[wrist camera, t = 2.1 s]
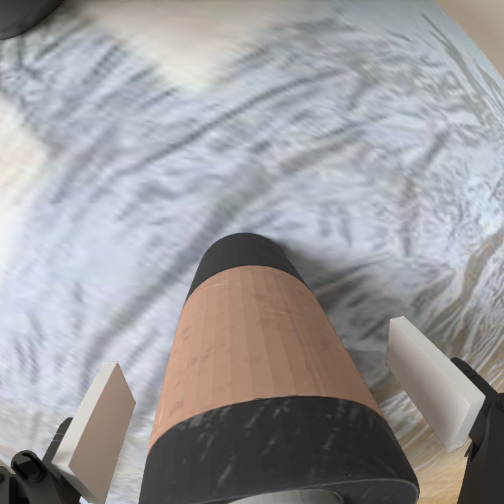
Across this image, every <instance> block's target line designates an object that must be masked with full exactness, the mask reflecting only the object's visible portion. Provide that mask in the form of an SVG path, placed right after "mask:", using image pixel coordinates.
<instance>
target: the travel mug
mask: <svg viewBox="0 0 504 504" xmlns="http://www.w3.org/2000/svg"><path fill="white" fill-rule="evenodd" d="M419 494H420V488H419V484H418V480H417V478H416V475H415V473H414V471H413V469H412V467H411V465H410V464H409V462H408V460H407V458H406V456H405V454H404V452H403V450H402V449H401V447H400V445H399V443H398V441H397V439H396V437H395V436H394V434H393V432H392V430H391V428H390V427H389V425H388V423H387V421H386V419H385V417H384V416H383V414H382V412H381V410H380V408H379V407H378V405H377V403H376V401H375V399H374V398H373V396H372V394H371V392H370V391H369V389H368V387H367V385H366V383H365V382H364V380H363V378H362V376H361V375H360V373H359V371H358V369H357V368H356V366H355V364H354V362H353V361H352V359H351V357H350V356H349V354H348V352H347V350H346V349H345V347H344V345H343V343H342V342H341V340H340V338H339V337H338V335H337V333H336V332H335V330H334V328H333V326H332V325H331V323H330V321H329V320H328V318H327V316H326V315H325V313H324V311H323V310H322V308H321V306H320V305H319V303H318V301H317V300H316V298H315V296H314V295H313V294H312V292H311V291H310V289H309V288H308V286H307V285H306V284H305V282H304V281H303V280H302V278H301V277H300V275H299V274H298V273H297V271H296V270H295V269H294V267H293V266H292V265H291V263H290V262H289V261H288V259H287V258H286V256H285V255H284V254H283V253H282V251H281V250H280V249H279V248H278V247H277V246H276V245H275V244H274V243H273V242H271V241H270V240H268V239H266V238H265V237H262V236H260V235H256V234H251V233H236V234H232V235H229V236H226V237H224V238H222V239H220V240H218V241H217V242H215V243H214V244H213V245H212V246H211V247H210V248H209V249H208V250H207V251H206V253H205V254H204V256H203V258H202V260H201V262H200V264H199V267H198V269H197V272H196V274H195V277H194V280H193V282H192V285H191V287H190V290H189V293H188V295H187V298H186V301H185V303H184V306H183V309H182V312H181V315H180V319H179V322H178V326H177V330H176V334H175V338H174V341H173V345H172V349H171V353H170V357H169V361H168V365H167V369H166V373H165V377H164V382H163V386H162V390H161V394H160V399H159V403H158V407H157V412H156V416H155V421H154V426H153V430H152V435H151V440H150V445H149V450H148V456H147V459H146V465H145V470H144V475H143V480H142V486H141V492H140V497H139V503H138V504H416V502H417V500H418V498H419Z"/></svg>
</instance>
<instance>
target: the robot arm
mask: <svg viewBox="0 0 504 504" xmlns="http://www.w3.org/2000/svg"><path fill="white" fill-rule="evenodd" d="M63 1H64V0H0V39H6V38H10V37H13V36H15V35H18V34H20V33H22V32H23V31H25V30H27V29H29V28H30V27H32V26H33V25H35V24H36V23H38V22H39V21H40V20H42V19H43V18H44V17H46V16H47V15H48V14H49V13H50V12H52V11H53V10H54V9H55V8H56V7H57V6H58V5H59V4H61V3H62V2H63ZM386 365H387V367H388V368H389V369H390V371H391V372H392V373H393V375H394V376H395V377H396V379H397V380H398V382H399V383H400V384H401V386H402V387H403V388H404V390H405V391H406V393H407V394H408V395H409V397H410V398H411V399H412V401H413V402H414V404H415V405H416V406H417V408H418V409H419V411H420V412H421V413H422V415H423V416H424V418H425V419H426V421H427V422H428V423H429V425H430V426H431V428H432V429H433V431H434V432H435V433H436V435H437V436H438V438H439V439H440V441H441V442H442V444H443V445H444V447H445V448H446V449H447V451H448V452H451V451H453V450H455V449H457V448H459V447H461V446H463V445H464V443H465V441H466V439H467V437H468V436H469V437H470V438H471V439H472V442H471V444H470V446H469V448H468V450H467V451H466V453H465V456H464V457H467V455H468V453H469V455H468V460H467V465H466V470H465V474H464V479H463V483H462V487H461V491H460V495H459V498H458V502H457V504H504V393H499V394H498V393H497V392H496V391H495V390H494V389H493V388H492V387H491V386H490V385H489V384H488V383H487V382H486V381H485V380H484V379H483V378H482V377H481V376H480V375H478V373H477V372H476V371H475V370H474V369H473V370H472V368H471V367H470V366H469V365H468V364H467V363H466V362H465V361H463V360H461V359H459V358H456V357H454V358H452V359H450V360H449V359H448V358H447V357H446V356H445V355H444V354H443V353H442V352H441V351H440V350H439V349H438V348H437V347H436V346H435V345H434V344H433V343H432V342H431V341H430V340H429V339H427V338H426V337H425V336H424V335H423V334H422V333H421V332H420V331H419V330H418V329H417V328H416V327H415V326H414V325H413V324H412V323H410V322H409V321H408V320H407V319H406V318H405V317H404V316H400V317H397V318H393V319H390V326H389V338H388V349H387V359H386ZM135 404H136V402H135V400H134V398H133V396H132V393H131V391H130V389H129V387H128V385H127V382H126V380H125V378H124V376H123V373H122V371H121V368H120V366H119V364H118V361H110V362H104V363H103V365H102V366H101V368H100V370H99V372H98V373H97V375H96V377H95V379H94V381H93V382H92V384H91V386H90V388H89V390H88V391H87V393H86V395H85V397H84V399H83V401H82V403H81V404H80V406H79V408H78V410H77V412H76V414H75V416H74V418H71V417H68V418H67V419H66V420H65V421H64V422H63V423H62V424H61V425H60V427H59V429H58V430H57V432H56V433H57V434H55V436H54V438H53V441H52V442H51V444H50V446H49V448H48V450H47V452H46V454H45V456H44V458H43V460H42V461H41V460H40V459H39V458H38V457H37V455H36V454H35V453H34V452H32V451H29V450H25V451H21V452H19V453H17V454H16V455H15V456H14V457H13V459H12V461H11V468H12V469H13V470H14V471H15V473H16V474H11V473H10V472H9V470H8V469H7V468H5V467H4V466H0V504H81V503H80V502H79V500H80V497H81V496H82V497H83V498H84V499H85V500H86V501H87V502H88V503H93V504H105V501H106V498H107V494H108V491H109V487H110V483H111V480H112V477H113V473H114V470H115V466H116V463H117V460H118V457H119V453H120V450H121V447H122V444H123V440H124V437H125V434H126V431H127V428H128V425H129V422H130V419H131V416H132V413H133V410H134V407H135Z"/></svg>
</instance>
